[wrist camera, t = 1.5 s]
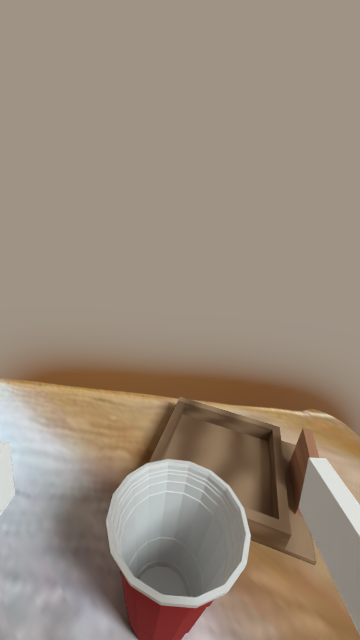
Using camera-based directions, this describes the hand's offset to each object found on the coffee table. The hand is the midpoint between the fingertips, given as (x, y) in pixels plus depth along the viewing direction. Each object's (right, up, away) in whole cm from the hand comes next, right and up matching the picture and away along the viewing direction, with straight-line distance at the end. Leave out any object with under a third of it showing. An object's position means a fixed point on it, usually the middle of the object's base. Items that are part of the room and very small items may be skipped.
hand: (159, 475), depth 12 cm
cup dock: (+8, -15, +27) cm, 32 cm away
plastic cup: (-1, -19, +13) cm, 23 cm away
